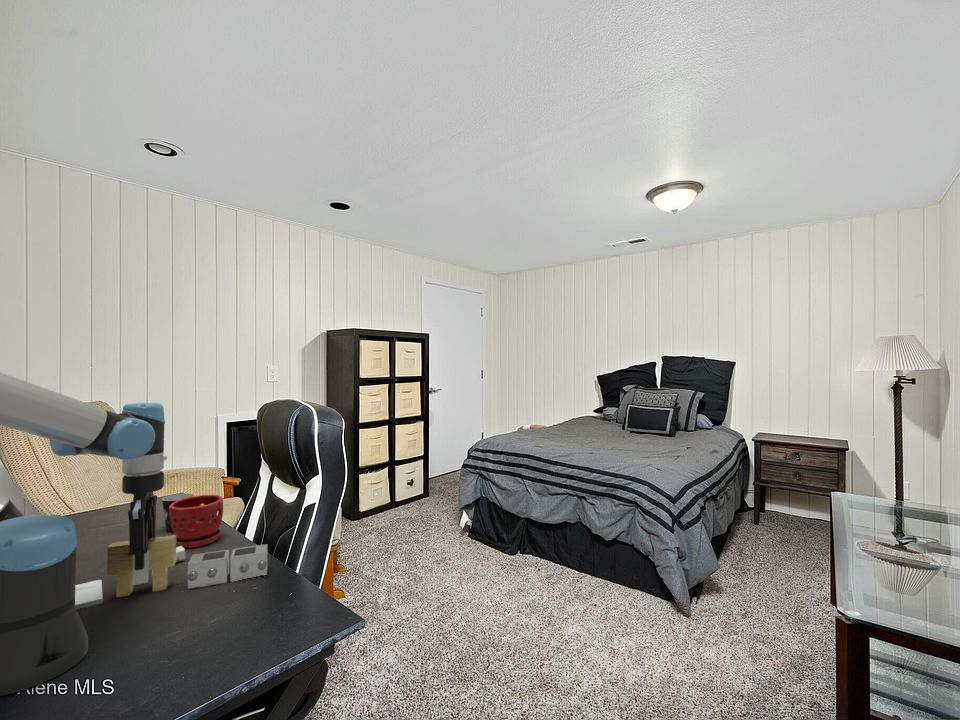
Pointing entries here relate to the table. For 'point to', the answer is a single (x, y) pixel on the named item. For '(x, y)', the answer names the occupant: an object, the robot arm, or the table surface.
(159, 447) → the robot arm
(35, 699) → the table surface
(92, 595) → the external hard drive
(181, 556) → the pipe fitting
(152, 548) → the tan notched arch block
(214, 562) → the twin gray knob boxes
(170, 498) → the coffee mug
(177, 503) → the plant pot
